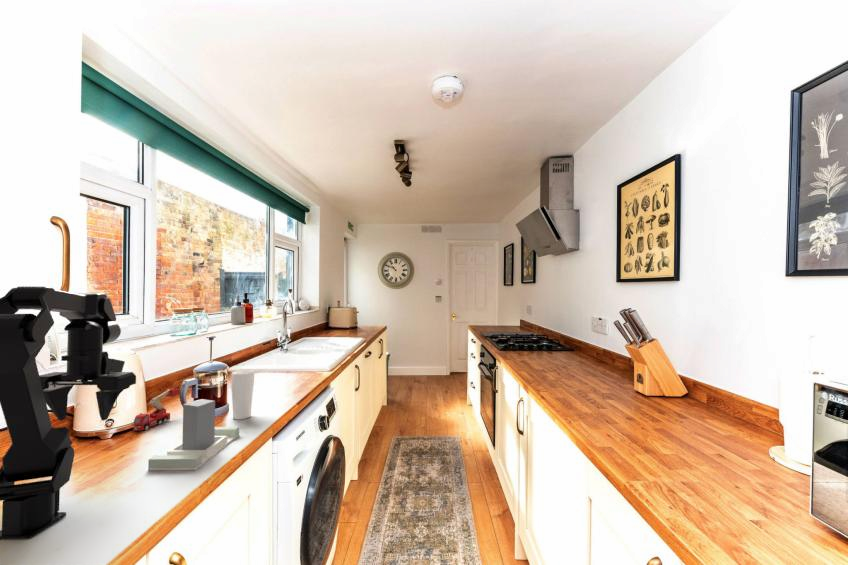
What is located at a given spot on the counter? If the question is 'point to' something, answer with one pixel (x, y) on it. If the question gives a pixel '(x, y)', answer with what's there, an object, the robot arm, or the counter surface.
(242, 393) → the drinking glass
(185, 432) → the tall grey pillar block
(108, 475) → the counter surface
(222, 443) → the tray
